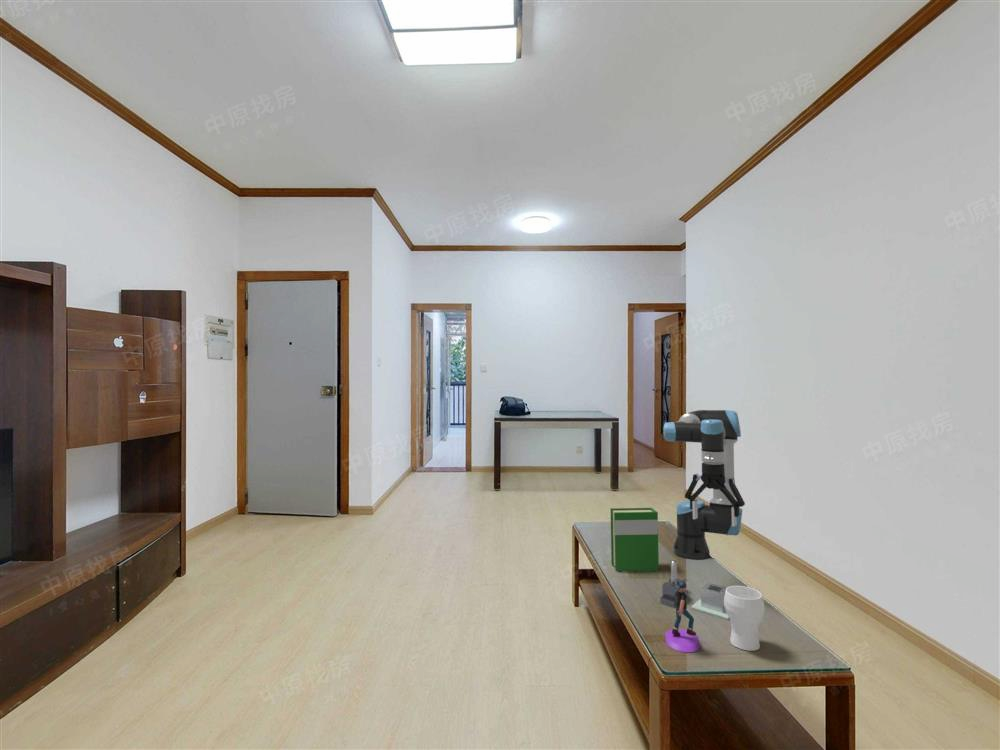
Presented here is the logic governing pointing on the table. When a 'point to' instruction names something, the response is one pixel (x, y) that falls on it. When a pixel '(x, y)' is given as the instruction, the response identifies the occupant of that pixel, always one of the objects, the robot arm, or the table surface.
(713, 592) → the grey hollow block
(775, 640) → the table surface
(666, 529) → the table surface
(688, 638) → the figurine
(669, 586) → the vise
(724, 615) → the mat
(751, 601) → the cup
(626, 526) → the hardback book
